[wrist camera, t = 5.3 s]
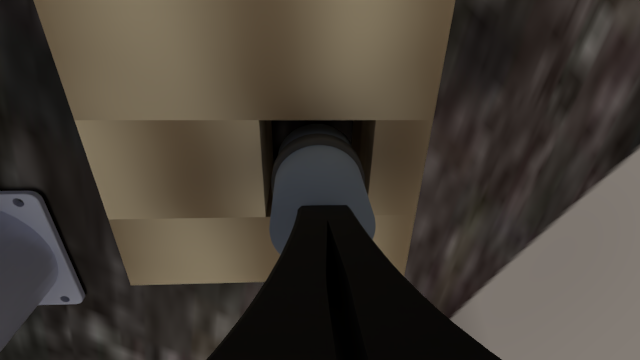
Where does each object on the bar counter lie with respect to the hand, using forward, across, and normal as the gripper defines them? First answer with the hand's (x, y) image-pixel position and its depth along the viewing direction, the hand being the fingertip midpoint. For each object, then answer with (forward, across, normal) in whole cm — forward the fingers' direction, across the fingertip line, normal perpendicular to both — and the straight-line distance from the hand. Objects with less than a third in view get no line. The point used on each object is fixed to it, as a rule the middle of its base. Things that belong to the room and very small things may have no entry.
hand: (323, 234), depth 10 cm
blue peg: (+5, 0, 0) cm, 5 cm away
